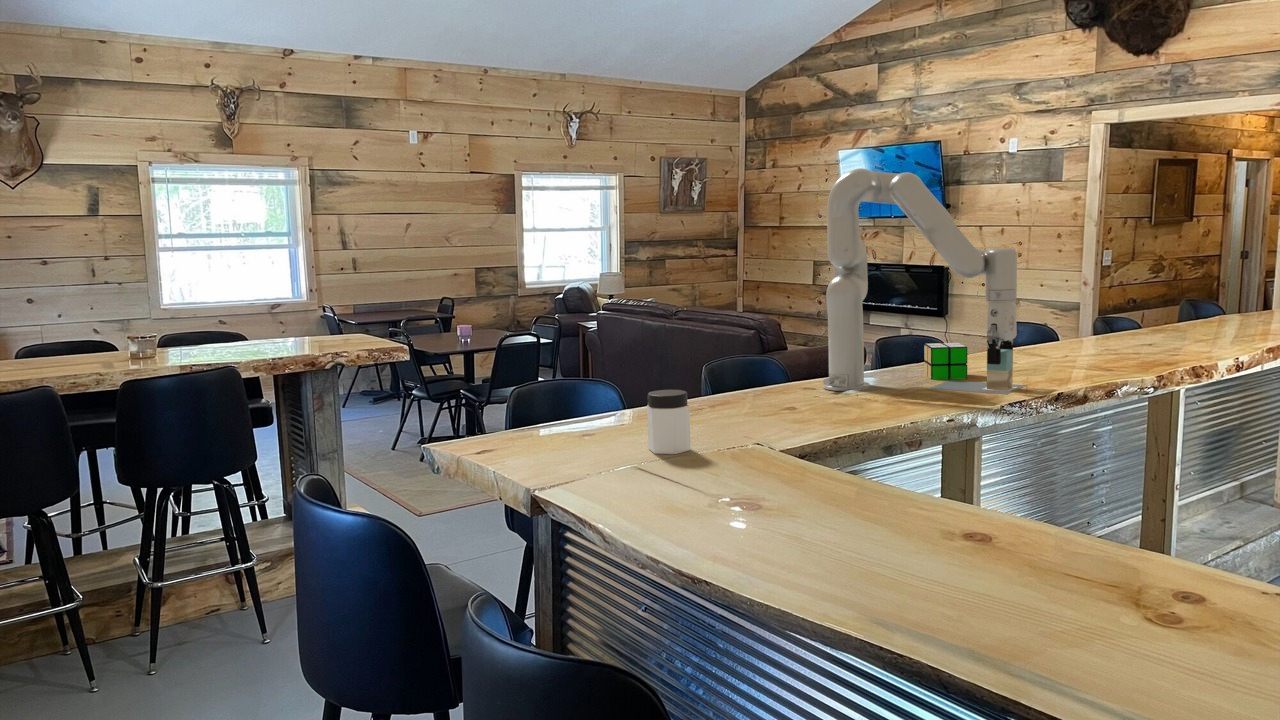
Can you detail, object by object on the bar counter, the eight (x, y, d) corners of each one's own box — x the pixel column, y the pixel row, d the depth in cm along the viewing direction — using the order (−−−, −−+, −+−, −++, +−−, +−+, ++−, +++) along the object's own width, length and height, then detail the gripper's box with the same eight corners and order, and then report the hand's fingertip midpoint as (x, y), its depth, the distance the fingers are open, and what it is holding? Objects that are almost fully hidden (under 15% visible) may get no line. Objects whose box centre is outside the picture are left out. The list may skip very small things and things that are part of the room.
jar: (670, 443, 197) (668, 387, 195) (698, 448, 191) (696, 391, 189) (640, 451, 191) (637, 393, 189) (667, 456, 185) (665, 397, 183)
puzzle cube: (959, 376, 271) (959, 342, 269) (967, 381, 261) (967, 346, 259) (923, 377, 272) (923, 343, 270) (931, 382, 262) (931, 347, 260)
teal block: (1006, 371, 239) (1006, 351, 238) (986, 370, 242) (987, 351, 241) (1012, 368, 242) (1013, 349, 242) (993, 367, 246) (993, 348, 245)
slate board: (1007, 397, 234) (1007, 394, 234) (926, 391, 247) (926, 388, 247) (1027, 388, 246) (1027, 384, 246) (949, 382, 259) (949, 379, 259)
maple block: (1006, 390, 239) (1006, 371, 239) (986, 388, 242) (986, 370, 242) (1012, 387, 243) (1012, 368, 242) (993, 386, 246) (993, 367, 246)
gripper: (1004, 298, 231) (1003, 366, 233) (1026, 294, 244) (1025, 358, 246) (974, 298, 235) (974, 365, 238) (997, 293, 249) (996, 357, 251)
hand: (1000, 361), depth 242 cm, fingers open, 9 cm apart
